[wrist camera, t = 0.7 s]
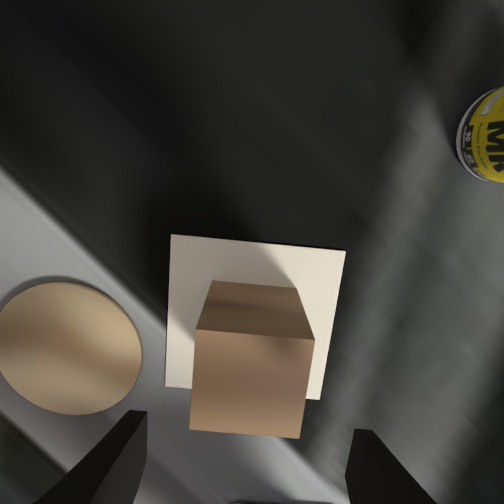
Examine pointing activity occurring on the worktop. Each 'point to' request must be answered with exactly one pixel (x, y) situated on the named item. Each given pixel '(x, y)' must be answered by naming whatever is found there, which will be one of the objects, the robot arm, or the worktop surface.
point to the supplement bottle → (483, 137)
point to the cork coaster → (68, 348)
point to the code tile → (250, 272)
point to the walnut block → (251, 361)
